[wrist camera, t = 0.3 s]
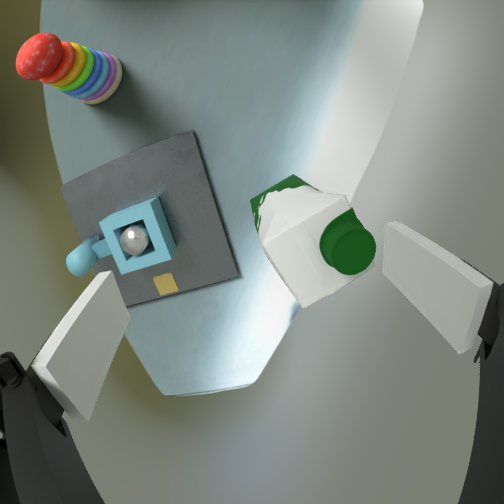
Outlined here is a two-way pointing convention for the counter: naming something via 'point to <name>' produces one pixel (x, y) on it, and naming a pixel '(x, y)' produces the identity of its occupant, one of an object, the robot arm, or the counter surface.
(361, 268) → the milk carton
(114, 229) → the blue handled square frame
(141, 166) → the post plate
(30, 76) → the stacking toy
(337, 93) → the counter surface
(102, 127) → the counter surface
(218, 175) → the counter surface
